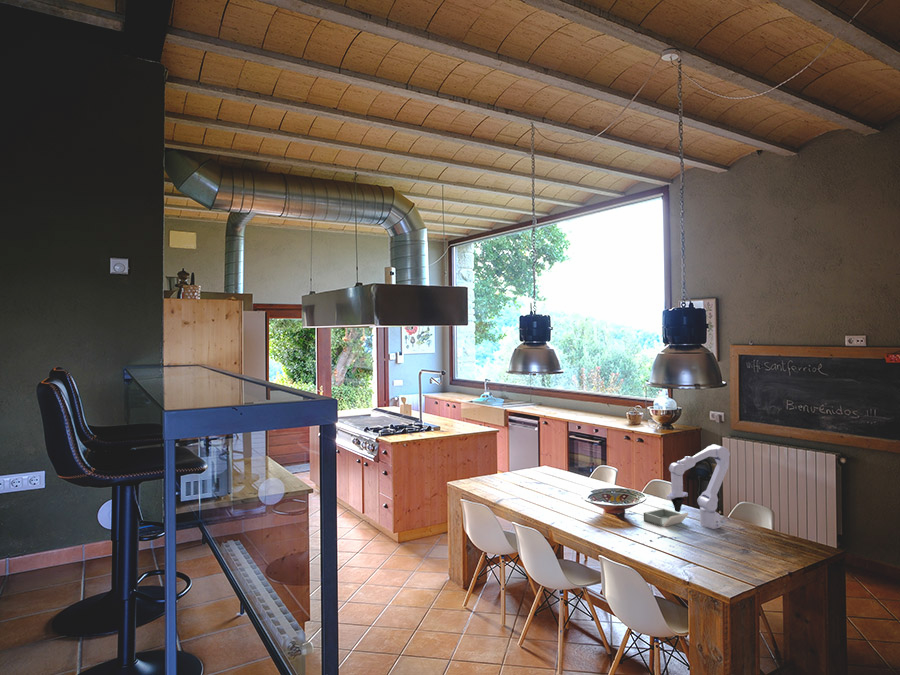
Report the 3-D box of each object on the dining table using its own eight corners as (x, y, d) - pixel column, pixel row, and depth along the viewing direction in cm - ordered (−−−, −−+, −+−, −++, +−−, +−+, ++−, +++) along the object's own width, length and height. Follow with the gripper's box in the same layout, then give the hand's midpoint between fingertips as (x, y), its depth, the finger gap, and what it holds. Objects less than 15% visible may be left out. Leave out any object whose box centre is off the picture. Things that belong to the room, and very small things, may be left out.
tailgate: (688, 514, 292) (687, 512, 292) (671, 518, 285) (670, 516, 285) (680, 523, 296) (679, 521, 297) (663, 527, 289) (661, 526, 290)
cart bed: (680, 522, 297) (680, 513, 298) (660, 527, 290) (660, 518, 290) (663, 517, 307) (663, 508, 307) (643, 521, 299) (643, 512, 300)
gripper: (679, 482, 297) (680, 507, 297) (661, 486, 290) (662, 511, 290) (690, 485, 291) (691, 510, 290) (672, 488, 284) (673, 514, 283)
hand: (677, 511), depth 290 cm, fingers closed
